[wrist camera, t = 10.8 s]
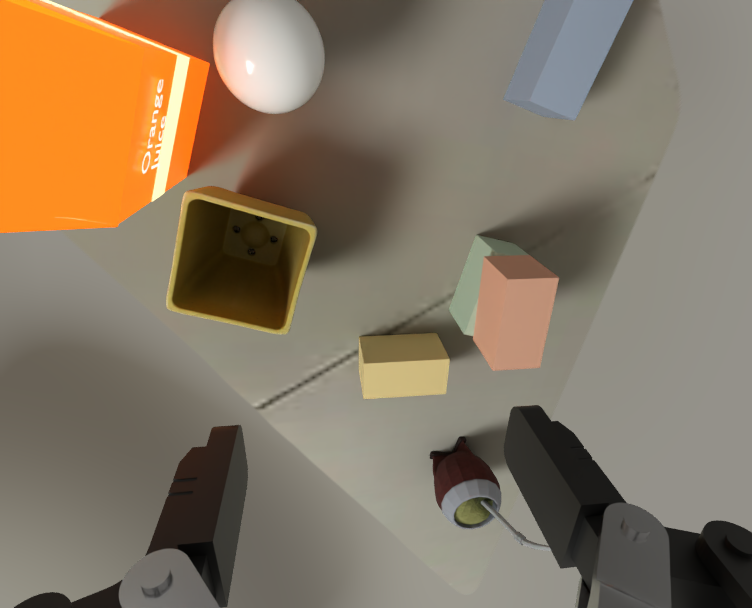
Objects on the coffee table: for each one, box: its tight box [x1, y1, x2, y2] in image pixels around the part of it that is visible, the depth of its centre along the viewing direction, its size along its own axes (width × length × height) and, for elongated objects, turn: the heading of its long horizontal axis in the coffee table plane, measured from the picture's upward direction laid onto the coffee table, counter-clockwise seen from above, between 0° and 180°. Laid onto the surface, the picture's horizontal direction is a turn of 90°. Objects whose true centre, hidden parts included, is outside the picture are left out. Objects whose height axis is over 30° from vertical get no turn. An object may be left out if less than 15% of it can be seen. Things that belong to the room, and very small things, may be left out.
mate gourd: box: [430, 437, 551, 551], centre depth 46 cm, size 8×8×15 cm
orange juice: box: [0, 0, 210, 233], centre depth 24 cm, size 8×9×20 cm
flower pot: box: [166, 186, 317, 334], centre depth 34 cm, size 9×9×9 cm
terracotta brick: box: [473, 255, 559, 371], centre depth 36 cm, size 8×4×5 cm, turn 179°
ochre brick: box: [359, 333, 450, 399], centre depth 43 cm, size 8×4×5 cm, turn 89°
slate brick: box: [503, 0, 633, 120], centre depth 33 cm, size 8×4×5 cm, turn 160°
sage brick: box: [449, 235, 529, 336], centre depth 41 cm, size 8×4×5 cm, turn 165°
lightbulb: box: [213, 0, 325, 114], centre depth 28 cm, size 6×6×11 cm
